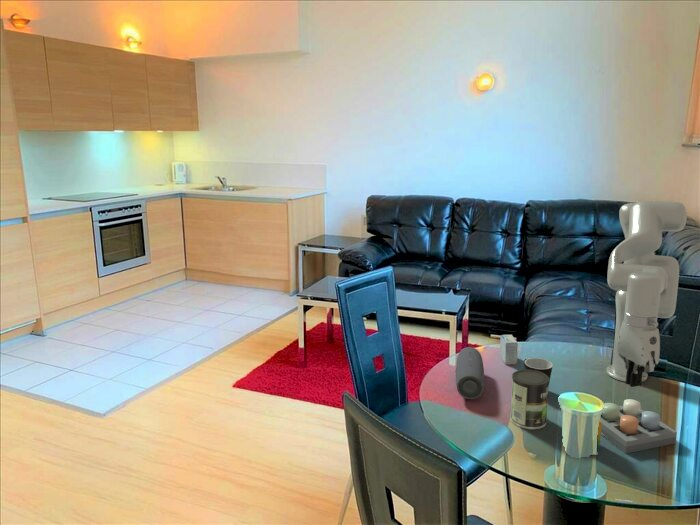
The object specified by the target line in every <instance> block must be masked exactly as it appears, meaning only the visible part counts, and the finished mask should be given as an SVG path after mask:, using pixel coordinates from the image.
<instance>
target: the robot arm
mask: <svg viewBox="0 0 700 525" xmlns="http://www.w3.org/2000/svg"><path fill="white" fill-rule="evenodd" d="M618 216H619V223H620V226H621V229H622V232H623V235H624V240H622V241H621V242H620V243H619V244H618V245H616V247H615V248H614V249H613V250H612V251H611V253H610V256H609V259H608V264H607V265H608V266H607V278H606V280H607V285H608V287H609V288H610V289H612V290H613V291H616V292H615V312H616V313H615V314H616V315H615V318H616V319H615V330H614V333H615V334H614V340H613V341H614V342H613V352H612V362H611V364H610V365H609V366H606V374H607V375H608V376H610V377H611V378H613V379H614V380H615V379H616V380H618V381H620V382H625V384H627V385H629V387H631V388H634V387H641V386H642V383H643V382H645V381H646V380H648V377H649V376H648V373H651V372H653V373H654V372H655V367H656V365H658V364H659V362H660V356H661V355H660V353H661V352H660V351H661V338H660V331H659V328H658V327H659V322H658V318H660V319H670V318H672V317H673V316H674V314H675V311H676V307H677V300H678V299H677V298H678V297H677V296H678V288H679V279H680V265H679V262H678V260H677V259H676V258H675V257H673V256H669V255H658V254H655V251H658V250H659V249H660V247H661V246H662V244H663V232H672V233H673V232H681V231H682V230H683V229H684V228H685V227H686V223H687V218H688V213H687V208H686V206H685V204H684V203H682V202H680V201H671V200H670V201H669V200H668V201H663V200H662V201H661V200H642V201H638V202H630V203H629V202H628V203H625V204H622V206H620V208H619V214H618Z"/></svg>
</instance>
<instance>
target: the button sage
mask: <svg viewBox="0 0 700 525" xmlns="http://www.w3.org/2000/svg"><path fill="white" fill-rule="evenodd" d="M603 405H604V409H603V408H602V409H603V412H602V417H603V418H605V419H607V420H610V421H617V420H619V414H620V407H619V406H620V405H618V404H616V403H613V402H605V403H603V404H602V406H603Z"/></svg>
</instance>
